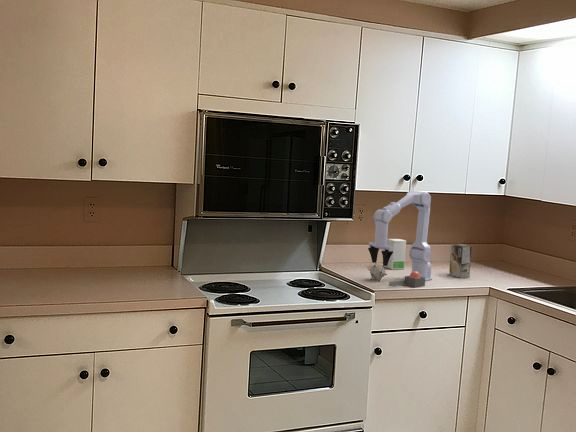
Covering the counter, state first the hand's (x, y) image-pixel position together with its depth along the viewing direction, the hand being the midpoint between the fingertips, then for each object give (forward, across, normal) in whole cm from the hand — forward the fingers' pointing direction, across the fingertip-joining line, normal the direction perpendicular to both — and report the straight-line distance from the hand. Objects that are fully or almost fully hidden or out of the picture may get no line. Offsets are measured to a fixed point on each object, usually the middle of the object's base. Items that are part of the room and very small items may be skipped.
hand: (379, 264), depth 305 cm
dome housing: (+10, +8, +16) cm, 20 cm away
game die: (+10, -8, +7) cm, 15 cm away
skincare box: (+10, -26, +36) cm, 46 cm away
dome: (+8, +8, +16) cm, 19 cm away
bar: (+10, +5, +7) cm, 13 cm away
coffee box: (+10, +2, +54) cm, 55 cm away
